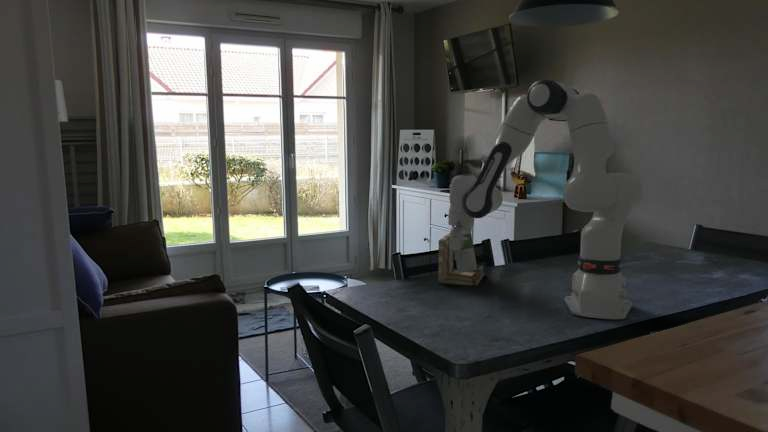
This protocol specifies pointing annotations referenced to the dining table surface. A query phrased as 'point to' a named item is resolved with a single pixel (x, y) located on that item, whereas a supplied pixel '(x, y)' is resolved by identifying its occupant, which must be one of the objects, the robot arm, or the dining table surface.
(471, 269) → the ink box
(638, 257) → the dining table surface
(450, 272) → the board
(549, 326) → the dining table surface
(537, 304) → the dining table surface
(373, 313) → the dining table surface
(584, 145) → the robot arm
